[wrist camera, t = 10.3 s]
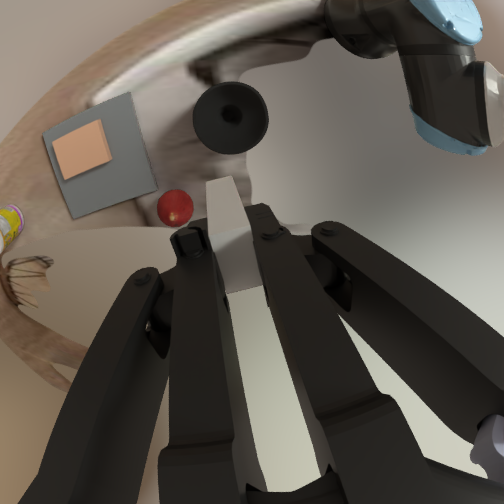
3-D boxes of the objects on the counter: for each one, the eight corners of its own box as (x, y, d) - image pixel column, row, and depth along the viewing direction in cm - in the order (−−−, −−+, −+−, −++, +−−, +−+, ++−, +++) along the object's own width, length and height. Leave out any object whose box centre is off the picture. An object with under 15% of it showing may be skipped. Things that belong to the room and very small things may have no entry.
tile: (97, 119, 33) (52, 142, 32) (109, 160, 36) (64, 180, 36) (100, 118, 34) (56, 140, 34) (112, 158, 38) (68, 177, 38)
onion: (194, 214, 47) (193, 236, 40) (162, 216, 46) (155, 238, 39) (193, 182, 44) (191, 199, 37) (159, 184, 43) (151, 201, 36)
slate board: (130, 92, 34) (128, 92, 33) (157, 188, 43) (156, 190, 42) (45, 132, 33) (42, 133, 32) (75, 216, 43) (73, 219, 42)
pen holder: (186, 131, 39) (181, 140, 31) (209, 77, 35) (210, 70, 27) (241, 151, 43) (251, 164, 34) (264, 99, 39) (281, 99, 30)
